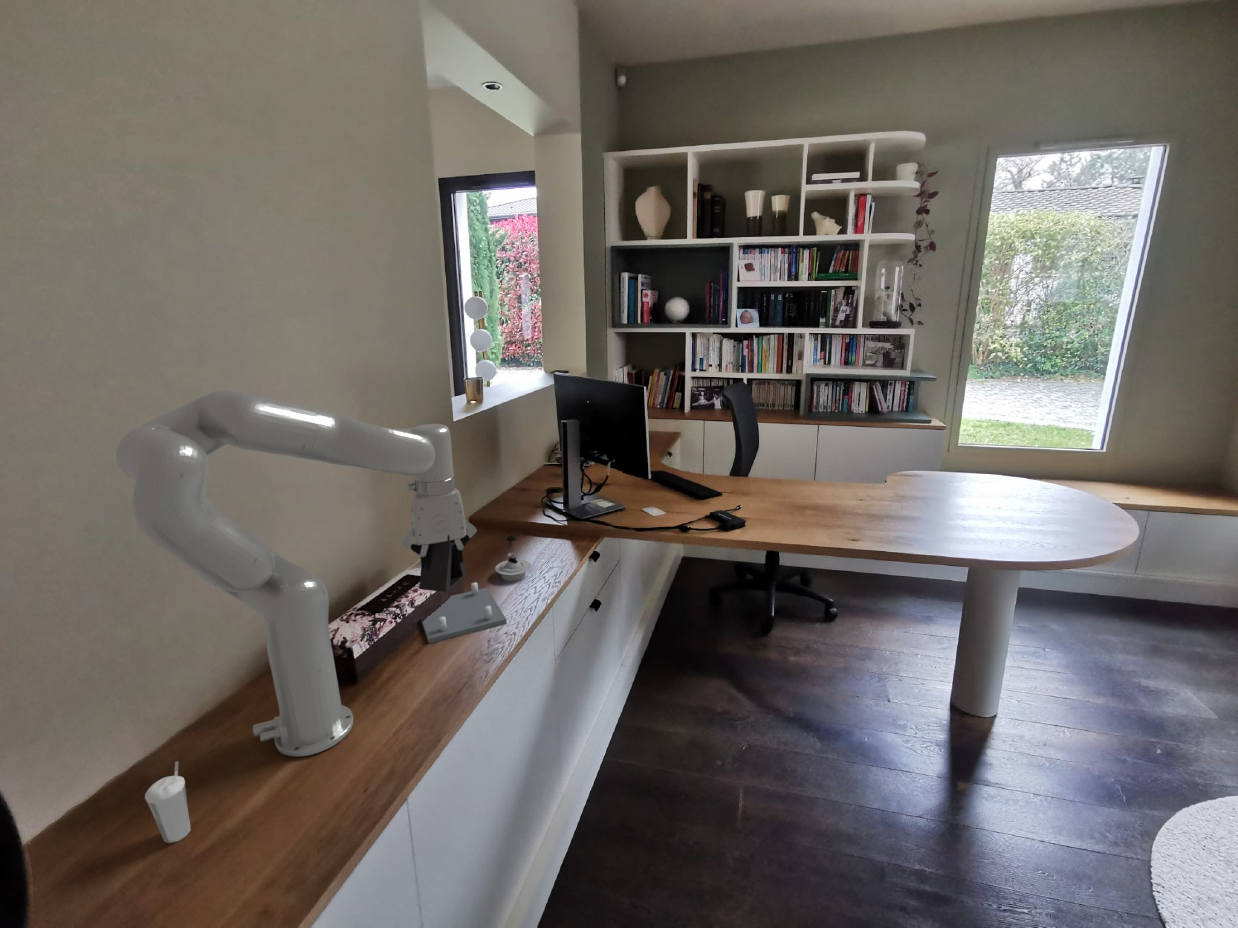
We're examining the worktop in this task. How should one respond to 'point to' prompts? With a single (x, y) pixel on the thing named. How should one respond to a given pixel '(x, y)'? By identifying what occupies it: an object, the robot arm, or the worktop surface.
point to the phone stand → (441, 567)
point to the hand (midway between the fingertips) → (442, 568)
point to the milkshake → (170, 807)
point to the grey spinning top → (513, 566)
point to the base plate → (464, 615)
